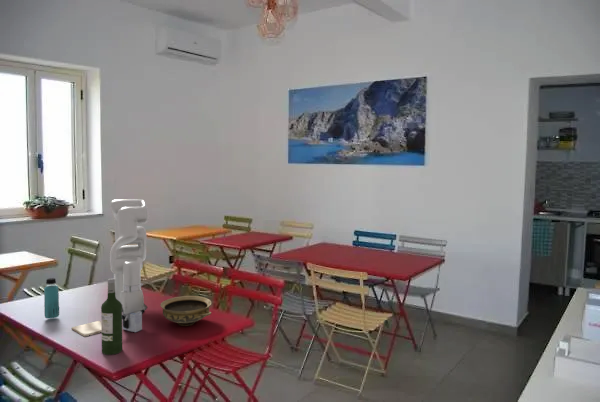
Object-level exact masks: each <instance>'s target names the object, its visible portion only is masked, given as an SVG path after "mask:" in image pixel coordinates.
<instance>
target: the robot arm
mask: <svg viewBox="0 0 600 402" xmlns="http://www.w3.org/2000/svg"><path fill="white" fill-rule="evenodd" d="M109 209H110V212H111V214H112V216H113V219H114V240H115V241H114V243H113V244H112V246H111V248H110V252H109V267H110V271H111V273H113V278H114V279H115V297H116V299H117V300H118V301H120V302H121V304H122V312H123V315H122V319H123V321H122V328H123V327H124V328H126V329H128V328H129V321H128V320H127V319H128V315H129V314H130V313H133V312H137V311H141V312H142V315H143V314H144V313H145V311H147V309H148V306H147V305H146V304H145V302H144V299H145V298H144V294H143V289H142V287H143V286H144V284H143V283H142V282H141V281H142V280H141V272H142V271H141V270H142V269H143V267H144V266H143V265H144V261H145V260H146V258H147V230H146V228H145V227H144V226H142V225H139V224H147V223H149V219H150V212H149V207H148V205H147V201H146V200H145V199H142V198H138V199H137V198H127V199H125V198H124V199H123V198H120V199H112V200H111V201H110V202H109Z"/></svg>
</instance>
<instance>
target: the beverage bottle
mask: <svg viewBox="0 0 600 402" xmlns="http://www.w3.org/2000/svg"><path fill="white" fill-rule="evenodd" d="M45 283H46V286H45V287H44V288H43V291H44V292H43V295H44V296H43V298H44V306H43V307H44V318H45V319H54V318H55V319H56V318H58V317H59V315H60V302H59V301H60V294H59V286H58V285H57V284H56V283H57V281H56V278H54V277H52V278H51V277H50V278H46V281H45Z"/></svg>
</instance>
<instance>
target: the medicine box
mask: <svg viewBox="0 0 600 402" xmlns="http://www.w3.org/2000/svg"><path fill="white" fill-rule="evenodd" d="M122 315H123V312H122ZM127 320H128V321H129V328H128V329H126V328H124V327H123V326H122V331H123V330H125V331H127V332H132V333H133V332H134V333H137V332H140V331H142V330H143V314H142V312H141V311H137V312H133V313H130V314H129V315H128V319H127ZM122 322H123V319H122Z"/></svg>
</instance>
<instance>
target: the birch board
mask: <svg viewBox="0 0 600 402" xmlns="http://www.w3.org/2000/svg"><path fill="white" fill-rule="evenodd" d="M71 330H72V331H74V332H75V333H77V334H79V335H81V336H82V337H84V338H85V337H89V335H90V336H93V335H96V334H100V332H101V333H102V329H101V320H97V321H96V320H95V321H93V322H88V323H84V324H80V325H76V326H71Z"/></svg>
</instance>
